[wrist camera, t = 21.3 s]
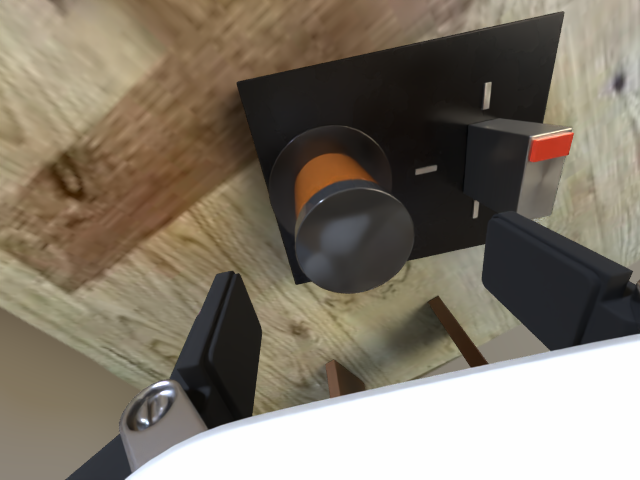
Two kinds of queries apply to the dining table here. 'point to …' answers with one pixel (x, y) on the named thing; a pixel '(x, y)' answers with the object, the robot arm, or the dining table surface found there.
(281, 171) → the disc
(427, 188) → the hob
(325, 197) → the spice bottle
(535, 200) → the hob knob
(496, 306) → the dining table surface
